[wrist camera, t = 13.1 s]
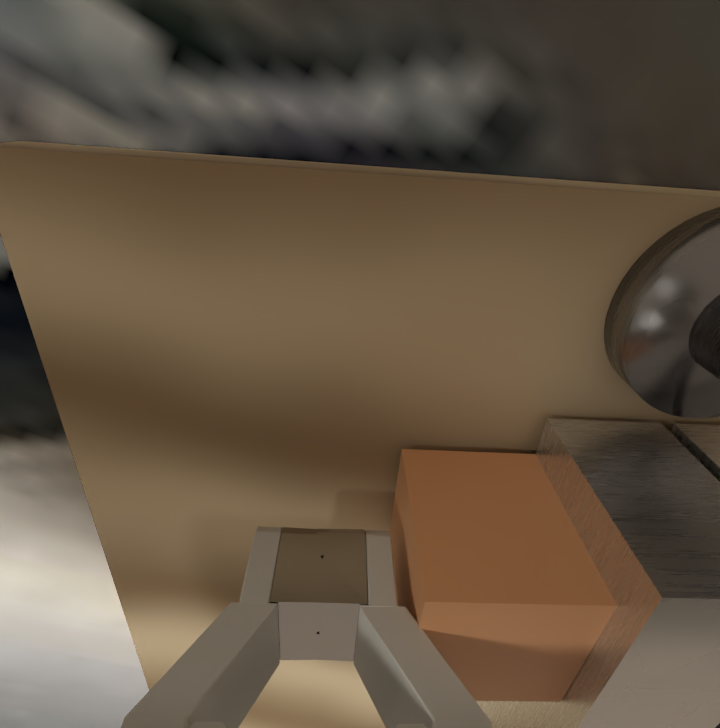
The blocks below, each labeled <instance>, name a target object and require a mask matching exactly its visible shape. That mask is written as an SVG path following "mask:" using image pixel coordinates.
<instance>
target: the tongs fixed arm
mask: <svg viewBox="0 0 720 728" xmlns="http://www.w3.org/2000/svg"><path fill="white" fill-rule="evenodd" d="M604 344H605V350H606V354H607V357H608V360H609V362H610V364H611V365H612V367H613V369H614V370H615V372H616V373H617V374H618V375H619V376H620V378H621V379H622V380H623V381H625V382H626V383H627V384H628V385H629V386H630V387H631V388H632V389H633V390H634V391H635V392H636V393H637V394H638V395H639V396H640V397H641V398H642V399H643V400H644V401H645V402H647V403H648V404H649V405H650V406H652V407H654V408H655V409H657V410H659V411H662V412H664V413H667V414H669V415H674V416H678V417H685V418H712V417H720V207H717V208H714V209H711V210H709V211H706V212H703V213H701V214H699V215H697V216H695V217H693V218H691V219H689V220H687V221H685V222H683V223H681V224H680V225H678V226H677V227H675V228H673V229H672V230H670V231H669V232H667V233H666V234H665V235H664V236H662V237H661V238H660V239H658V240H657V241H656V242H655V243H654V244H652V245H651V246H650V247H649V248H648V249H647V250H646V251H645V252H644V253H643V254H642V255H641V256H640V257H639V258H638V259H637V261H636V262H635V263H634V264H633V265H632V266H631V268H630V269H629V271H628V272H627V273H626V275H625V276H624V277H623V279H622V281H621V282H620V284H619V286H618V288H617V289H616V291H615V293H614V296H613V298H612V300H611V302H610V305H609V308H608V312H607V315H606V320H605V326H604ZM670 433H671V434H672V435H673V436H674V437H675V438H676V439H677V440H678V441H679V442H680V443H681V444H682V445H683V446H684V447H685V448H686V449H687V450H688V451H689V452H690V453H691V454H692V455H693V456H694V457H695V458H696V459H697V460H698V461H699V462H700V463H701V464H702V465H703V466H704V467H705V468H706V469H707V470H708V471H709V472H710V473H711V474H712V475H713V476H714V477H715V478H716V479H717V480H718V481H719V482H720V425H698V424H675V423H674V424H673V426H672V428H671V430H670ZM715 728H720V723H719V724H718V725H717V726H716V727H715Z"/></svg>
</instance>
